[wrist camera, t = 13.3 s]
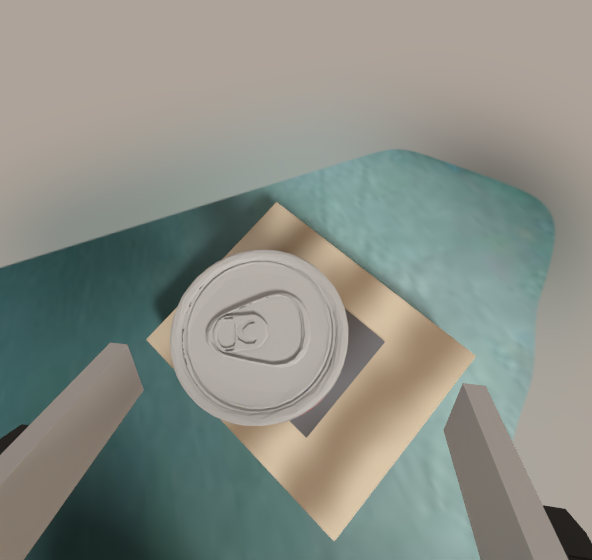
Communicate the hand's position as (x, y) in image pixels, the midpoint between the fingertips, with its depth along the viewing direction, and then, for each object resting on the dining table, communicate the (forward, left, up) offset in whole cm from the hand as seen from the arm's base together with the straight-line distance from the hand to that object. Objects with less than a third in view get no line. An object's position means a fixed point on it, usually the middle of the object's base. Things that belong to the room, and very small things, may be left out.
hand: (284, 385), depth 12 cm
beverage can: (-1, +1, -11) cm, 12 cm away
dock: (-2, +1, -15) cm, 15 cm away
